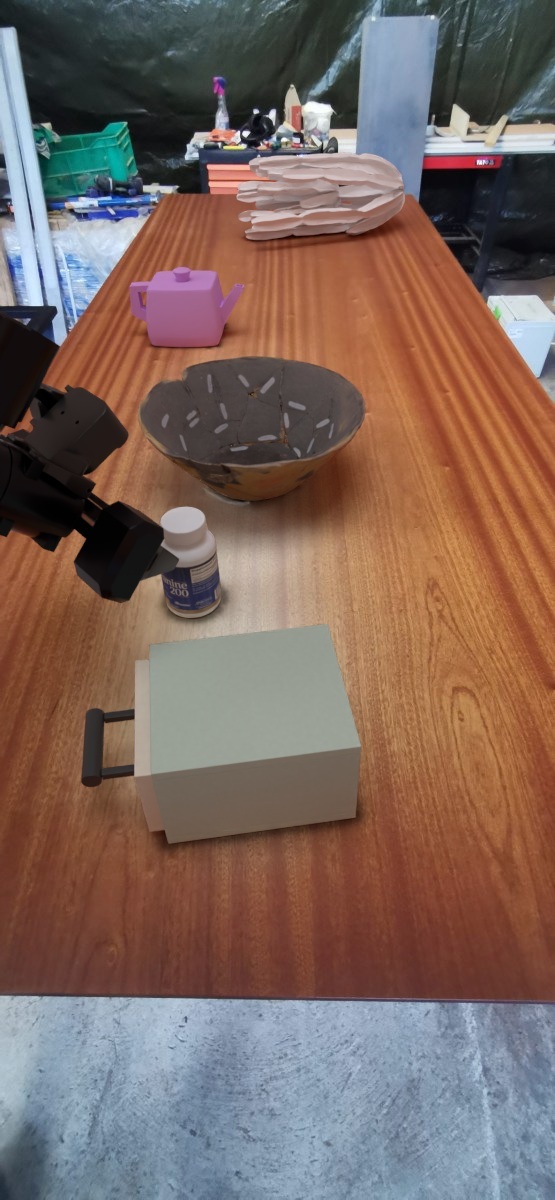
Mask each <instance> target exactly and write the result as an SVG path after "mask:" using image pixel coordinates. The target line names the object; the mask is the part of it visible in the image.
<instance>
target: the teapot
mask: <svg viewBox="0 0 555 1200" xmlns="http://www.w3.org/2000/svg"><path fill="white" fill-rule="evenodd" d="M219 277H220V276H219V274H218V272H217V271H214V270H191V268H189V267H186V266H179V267H176V268H173V270H162V271H156V272H155V274H154V276H153V277H152V278H151V280H149V281H132V282H131V283H130V285H129V288H128V289H129V300H130V312H131V314H130V315H132V316H133V317H135V318H137V319H139V320H141V321H143V322H145V323H146V328H147V329H146V330H147V336H148V339H149V342H150V343H151V345H152V346H154V347H167V348H204V347H215V346H218V345H219V344H220V342H221V339H222V337H223V332H224V328H225V324H226V323H227V321H228V319H229V317H230V316H231V314H232V311H233V310H234V308H235V306H236V305H237V303H238V300H239V299H240V297H241V295H242V293H243V291H244V289H245V284H242V283H241V284H240V283H234V285H233V287H232V288H231V290H230V291H229V293H228V294H227V295H226V296H225V298H224V293H223V289H222V285H221V281H220V278H219ZM142 293H146V298H145V299H146V302H145V304H144V302H143V295H142Z"/></svg>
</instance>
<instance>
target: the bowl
mask: <svg viewBox="0 0 555 1200" xmlns="http://www.w3.org/2000/svg"><path fill="white" fill-rule="evenodd" d="M180 375H181V379H178V378H177V379H168V378H163V379H162V380H160V381H159V382H157V383H156V384H155V385H154V386H152V388H151V389H150V390H149V391H148V393H147V394H146V395H145V397H144V398H143V399H142V400H140V403H139V405H138V409H137V421H138V425H139V427H140V430H141V432H142V434H143V435H144V437H145V438H146V439H147V440H148V442H149V443H150V444H151V445H152V446H153V447H154V448H155V449H156V451H158V452H159V453H160V454H161V455H163V456H164V457H165V458H166V459H167V460H169V462H170V463H173V465H176V466H177V467H179V468H180V469H181V470H183V471H185V472H186V473H188V474H190V475H191V476H192V477H193V478H195V479H197V481H200V482H201V483H203V484H204V485H206V486H208V487H210V489H211V488H212V490H214V491H215V492H216V493H218V494H220V495H222V496H224V497H227V498H229V499H231V500H233V499H234V500H240V501H241V500H242V501H245V502H246V501H247V502H248V501H249V502H250V501H251V502H252V501H253V502H255V501H264V500H268V499H275V498H276V497H281V496H285V495H286V494H288V493H290V492H291V491H293V490H295V489H296V488H297V487H299V486H300V485H301V484H303V483H304V482H305V481H307V480H308V479H309V478H310V477H312V476H313V475H314V474H315V473H316V472H317V471H318V470H320V469H321V468H322V467H323V466H324V465H326V464H327V462H329V461H330V460H331V459H332V458H333V457H334V456H335V455H337V454H338V453H340V451H342V450H343V449H344V448H346V446H347V445H348V444H349V443H350V442H351V441H353V439H354V437H355V436H356V435H357V432H358V431H359V430H360V428H361V427H362V425H363V423H364V421H365V417H366V402H365V399H364V396H363V394H362V393H361V391H360V390H359V389H358V387H356V385H355V384H354V383H352V382H351V381H350V380H348V378H346V377H345V375H342V374H340V372H336V371H334V370H331V369H329V368H327V367H324V366H321V365H318V364H314V363H310V362H306V361H302V360H297V359H286V358H284V357H277V356H276V357H275V356H274V357H273V356H264V355H263V356H261V355H248V356H239V357H231V358H225V359H215V360H209V361H204V362H199V363H196V364H192V365H190V366H187V367H185V368H184V369H183V370H181V372H180ZM285 441H286V442H285Z"/></svg>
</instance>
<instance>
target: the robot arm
mask: <svg viewBox="0 0 555 1200" xmlns="http://www.w3.org/2000/svg"><path fill="white" fill-rule="evenodd" d="M60 349H61V346H60V345H59V344H58V343H56V342H55V341H53V340H51V339H50V338H48V337H47V336H45V335H44V334H41V333H40V332H39V331H37V330H35V329H33V328H32V327H30V326H29V325H26V324H24V323H23V322H21V321H19V320H18V319H16V318H14V317H13V316H10V315H9V314H7V313H5V312H3V311H2V310H0V427H1V426H5V427H8V428H11V429H14V430H15V429H16V428H17V426H18V424H19V423H22V422H23V420H24V418H25V416H26V414H27V413H28V410H29V411H30V415H31V417H32V419H30V420H29V424H30V425H31V426H32V429H31V431H29V430H27V429H25V428H21V429H18V430H16V431H12V432H8V433H7V435H5V434H2V433H0V536H1V537H5V538H8V536H9V534H10V532H14V533H18V534H21V535H23V536H27V537H29V538H31V540H32V541H34V543H36V544H37V545H38V546H39V547H40V548H41V549H42V550H45V551H49V552H52V553H55V551H56V550H57V548H58V546H59V544H60V542H61V540H62V539H63V538H64V539H66V538H67V537H69V536H70V535H71V534H72V533H73V532H74V531H76V532H77V533H78V534H80V535H81V537H83V539H85V540H84V542H83V543H82V545H81V547H80V549H79V550H78V552H77V554H76V556H75V559H74V560H73V565H74V569H75V573H76V576H77V577H78V578H79V579H80V580H82V582H84V583H85V584H86V585H87V586H88V587H89V588H90V589H91V590H92V591H93V592H94V593H96V594H97V595H98V596H99V597H100V598H101V599H104V600H106V601H111V602H114V603H117V604H118V603H119V604H123V603H126V602H129V601H130V600H131V598H132V597H133V595H134V593H135V591H136V589H137V588H138V586H139V584H140V582H142V581H145V580H148V579H150V578H153V577H157V576H161V574H163V573H166V572H169V571H172V570H174V569H175V567H176V565H177V563H178V562H179V558H178V557H176V556H175V555H174V554H172V553H171V552H169V551H168V550H167V549H165V548H164V547H162V546H161V544H162V542H163V540H164V528H162V527H161V524H159V523H157V522H156V521H154V520H153V519H152V518H150V517H149V516H148V515H146V514H145V513H144V512H142V511H141V510H140V509H137V508H135V507H134V506H132V505H130V504H129V503H126V502H123V501H120V500H117V501H115V502H113V503H111V504H109V503H107V502H106V501H104V500H103V499H102V498H100V497H99V496H98V495H96V494H95V493H94V492H93V490H94V489H95V487H96V485H97V483H96V482H95V481H94V480H92V479H91V478H89V477H87V476H88V475H90V474H92V473H93V472H94V471H95V470H97V469H98V468H99V467H100V466H101V465H102V464H103V463H104V462H105V461H106V460H107V459H108V458H109V457H110V456H111V455H112V454H113V453H114V452H115V451H116V450H117V449H121V448H122V447H123V446H124V445H125V444H126V442H127V441H128V439H129V431H128V430H127V428H126V427H125V426H124V424H123V423H122V422H121V420H120V419H119V418H118V416H116V414H115V413H114V411H113V410H112V408H111V407H110V406H109V405H108V404H107V402H106V401H105V400H103V399H102V398H101V397H98V396H97V395H95V394H94V393H92V392H91V391H89V390H88V389H86V388H84V387H82V386H76V387H73V386H71V385H70V384H66V386H65V387H64V390H65V392H64V391H61V390H60V389H59V388H56V387H55V386H54V387H53V386H51V385H48V384H46V383H43V382H44V380H45V378H46V376H47V375H48V372H49V370H50V368H51V366H52V365H53V363H54V361H55V359H56V358H57V355H58V353H59V351H60Z"/></svg>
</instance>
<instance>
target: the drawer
mask: <svg viewBox="0 0 555 1200" xmlns="http://www.w3.org/2000/svg"><path fill="white" fill-rule="evenodd" d="M128 721H134V741H133V743H134V744H133V745H134V750H133V751H134V753H133V755H134V756H133V758H134V759H133V761H134V762H133V763H132V764H126V765H125V764H124V765H118V766H110V767H104V766H103V765H104V744H105V724H111V723H119V722H128ZM127 777H134V780H135V785H136V788H137V792H138V795H139V800H140V803H141V806H142V810H143V814H144V818H145V822H146V826H147V828H148V832H149V833H150V832H160V831H165V829H164V825H163V821H162V817H161V813H160V809H159V805H158V801H157V797H156V793H155V788H154V784H153V780H152V776H151V740H150V661H149V658H146V659H138V660H134V708H131V709H123V710H115V711H114V710H113V711H107V712H105V710H103V709H102V708H98V707H94V708H90V709H88V710H86V712H85V719H84V733H83V749H82V763H81V777H80V782H81V784H82V785H83V786H84V787H87V788H95V787H98V786H101V784H102V782H103V780H104V781H105V780H111V779H112V780H113V779H120V778H127Z"/></svg>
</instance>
